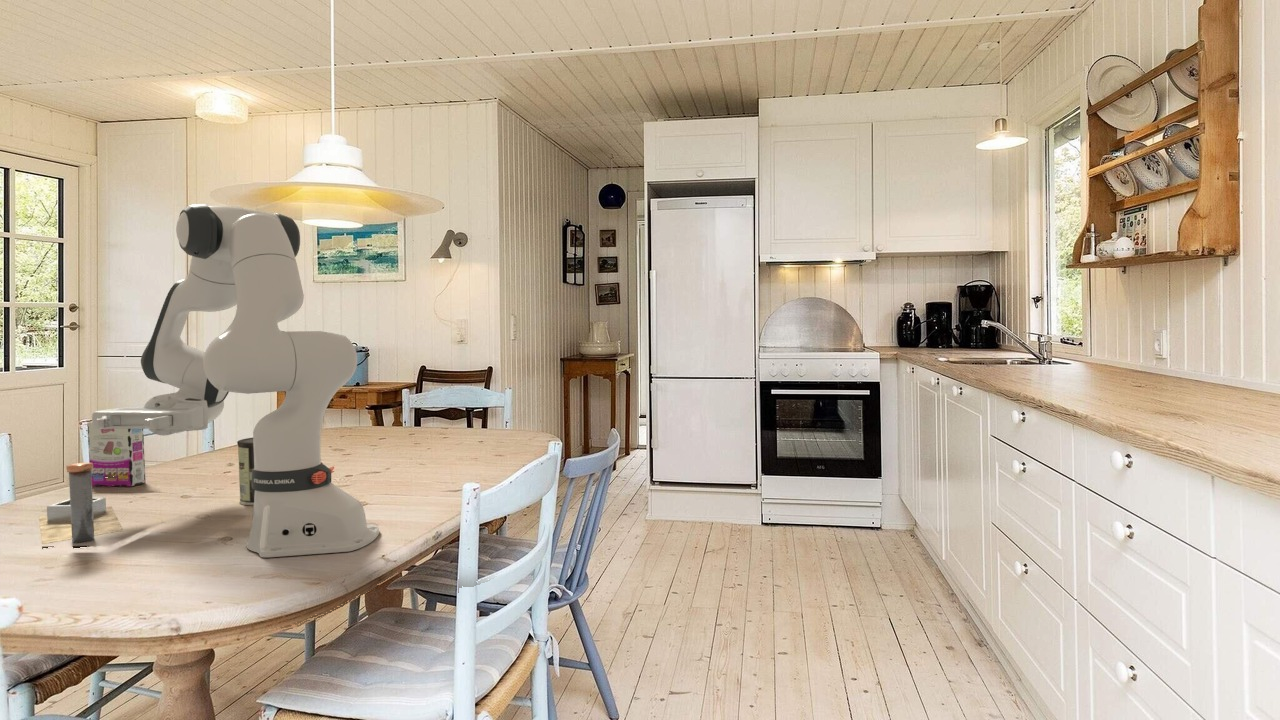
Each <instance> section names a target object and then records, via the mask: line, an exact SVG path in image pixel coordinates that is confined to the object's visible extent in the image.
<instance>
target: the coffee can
mask: <svg viewBox="0 0 1280 720" xmlns="http://www.w3.org/2000/svg"><path fill="white" fill-rule="evenodd" d="M237 450H238V451H237V455H238V456H237V457H238V479H239V485H238V486H239V504H241V505H242V506H254V498H253V494H252V469H253V468H254V444H253V437H246V438H242V439H239V440H237Z"/></svg>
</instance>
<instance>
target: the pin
mask: <svg viewBox="0 0 1280 720" xmlns="http://www.w3.org/2000/svg"><path fill="white" fill-rule="evenodd" d="M65 467H66V472H67V473H68V482H69V484H68V485H69V486H68V487H69V499H70V507H71V527H72V539H71V543H73V544H84V543H85V544H86V543H89V542H93V541H94V540H95V536H94V519H93V498H94V497H93V487H92V476H91V470H92V469H93V463H89V462H78V463H72V464H68V465H66V466H65ZM87 546H88V545H72V546H71V547H73V548H72V549H74V548H80V547H87ZM87 548H88V547H87ZM80 549H81V548H80Z"/></svg>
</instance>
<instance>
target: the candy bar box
mask: <svg viewBox="0 0 1280 720" xmlns="http://www.w3.org/2000/svg"><path fill="white" fill-rule="evenodd" d="M86 425H87V440H88V443H87V444H88V461H89V462H88V463H93V469H92V470H91V476H92V486H96V487H99V488H100V487H102V486H126V487H131V488H132V487H135V485H136V486H138V485H143V484H145V483H146V463H145V439H144V429H95V428H94V427H93V425H92V421H88V422H87V424H86ZM113 476H114V477H113ZM105 477H108V478H105ZM142 483H143V484H142ZM126 487H125V488H126Z"/></svg>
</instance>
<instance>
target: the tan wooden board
mask: <svg viewBox="0 0 1280 720" xmlns="http://www.w3.org/2000/svg"><path fill="white" fill-rule="evenodd" d="M38 518H39V519H38V520H39V526H40V527H39V529H40V537H41V544H42V545H43V544H49V543H50V544H51V543H56V542H57V543H58V542H63V541H68V540H69V541H70V540H72V527H71V521H47V515H43V516H38ZM93 519H94V537H95V536H100V535H107V534H112V533H114V534H115V533H118V532H124V528H123V527H122V524H121V521H119V518H118V517H117V514H116V513H115V511H114V509H113V507H112V506H106V512H104V513H101V514H99V515H96V516H93ZM54 546H55V545H54ZM54 546H53V545H52V546H51V545H50V546H49V545H47V546H41V549H42V550H44V549H43V548H46V549H49V548H48V547H52V548H55V547H54Z"/></svg>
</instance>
